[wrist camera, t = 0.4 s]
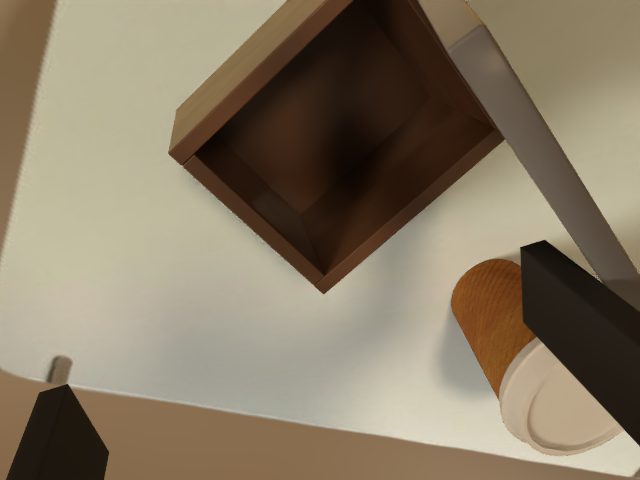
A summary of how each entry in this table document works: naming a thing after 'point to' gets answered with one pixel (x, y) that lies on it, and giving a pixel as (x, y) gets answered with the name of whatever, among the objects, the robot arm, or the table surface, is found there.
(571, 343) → the robot arm
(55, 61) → the table surface
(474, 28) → the lid
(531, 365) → the disposable coffee cup
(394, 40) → the box
